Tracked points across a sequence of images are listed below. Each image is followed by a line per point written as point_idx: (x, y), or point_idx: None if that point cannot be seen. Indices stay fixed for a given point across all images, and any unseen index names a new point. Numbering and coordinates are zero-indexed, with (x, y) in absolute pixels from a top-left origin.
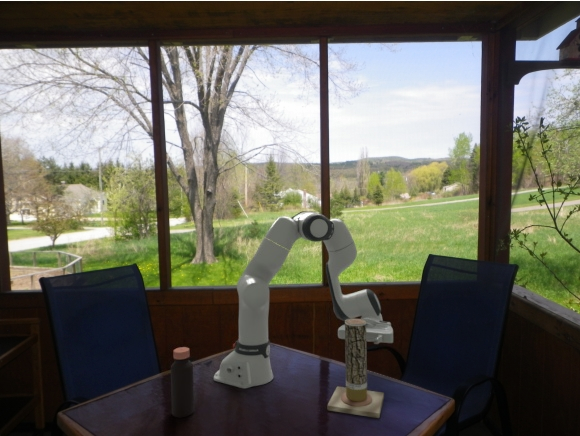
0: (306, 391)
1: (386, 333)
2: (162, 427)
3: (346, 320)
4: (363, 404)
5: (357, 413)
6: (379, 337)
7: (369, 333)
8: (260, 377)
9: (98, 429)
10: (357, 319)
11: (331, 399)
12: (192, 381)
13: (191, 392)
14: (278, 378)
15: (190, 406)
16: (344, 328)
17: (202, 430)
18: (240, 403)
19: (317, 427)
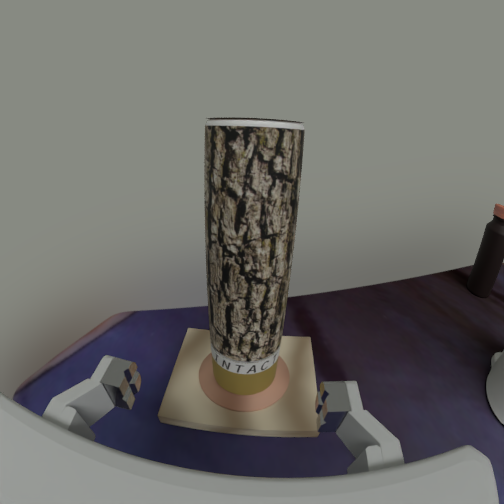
0: (396, 402)
1: (10, 400)
2: (461, 271)
3: (299, 122)
4: None
5: None
6: (81, 382)
7: (147, 461)
8: (498, 369)
9: None
10: (249, 118)
11: (310, 360)
12: (485, 251)
13: (479, 262)
14: (488, 425)
15: (471, 277)
16: (451, 486)
17: (430, 274)
18: (455, 322)
19: (304, 300)
